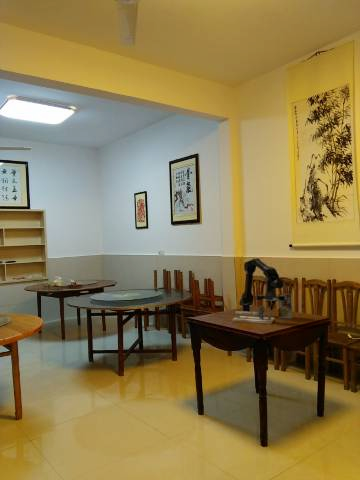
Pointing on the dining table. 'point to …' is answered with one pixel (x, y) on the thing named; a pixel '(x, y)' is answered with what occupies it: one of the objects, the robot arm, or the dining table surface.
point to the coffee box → (285, 307)
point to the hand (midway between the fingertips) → (271, 310)
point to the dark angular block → (261, 312)
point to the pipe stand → (252, 319)
